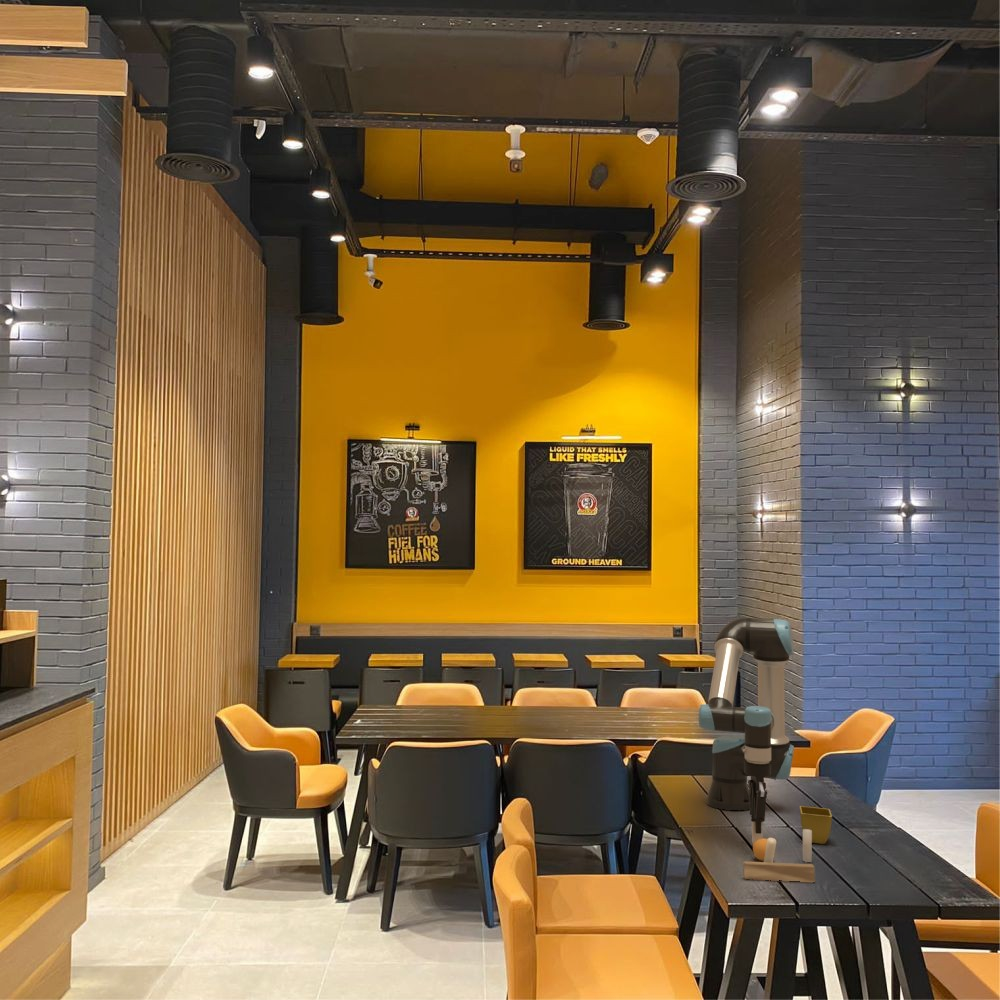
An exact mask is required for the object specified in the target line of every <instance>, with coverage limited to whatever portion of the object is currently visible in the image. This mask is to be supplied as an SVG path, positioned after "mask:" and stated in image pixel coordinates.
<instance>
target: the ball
mask: <svg viewBox="0 0 1000 1000" xmlns="http://www.w3.org/2000/svg"><path fill="white" fill-rule="evenodd" d="M767 839H768V838H764V837H762V839H758V840H757V841H756V842H755V843H754V844H752V845H753V846H752V851H753V854H754V856H755V858H756V859H758V860H759V861H760V862H764V856H765V850H766V845H767ZM775 855H776V852H775V853H774V856H775Z"/></svg>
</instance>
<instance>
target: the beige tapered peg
mask: <svg viewBox="0 0 1000 1000" xmlns="http://www.w3.org/2000/svg"><path fill="white" fill-rule="evenodd" d="M812 848H813V847H812V830H809V829H803V831H802V862H803V861H805V862H804V863H807V862H811V863H812V861H813V855H812V854H813V853H812V850H813V849H812Z"/></svg>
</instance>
